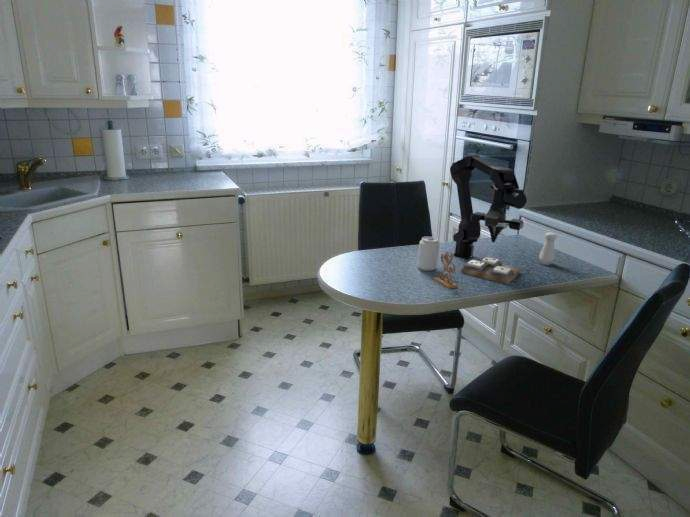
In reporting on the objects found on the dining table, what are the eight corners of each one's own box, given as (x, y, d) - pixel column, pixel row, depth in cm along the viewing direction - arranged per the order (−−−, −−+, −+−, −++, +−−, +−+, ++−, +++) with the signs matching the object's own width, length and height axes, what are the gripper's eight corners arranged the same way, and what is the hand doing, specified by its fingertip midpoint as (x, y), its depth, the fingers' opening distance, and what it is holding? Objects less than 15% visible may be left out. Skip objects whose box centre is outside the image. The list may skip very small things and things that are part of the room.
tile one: (492, 273, 189) (493, 268, 188) (496, 270, 193) (497, 265, 192) (506, 277, 186) (506, 272, 186) (510, 273, 190) (510, 268, 190)
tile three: (466, 267, 194) (467, 262, 193) (471, 263, 198) (472, 259, 197) (479, 270, 191) (480, 265, 191) (484, 267, 195) (484, 262, 195)
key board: (461, 272, 194) (462, 264, 193) (474, 262, 206) (475, 255, 205) (507, 284, 185) (509, 276, 184) (519, 273, 197) (521, 265, 196)
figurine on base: (457, 287, 179) (462, 255, 175) (448, 288, 178) (453, 256, 174) (442, 278, 187) (446, 247, 183) (433, 279, 185) (437, 248, 181)
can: (438, 267, 198) (442, 237, 194) (433, 273, 192) (437, 242, 188) (420, 263, 201) (423, 234, 197) (414, 269, 194) (417, 239, 190)
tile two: (481, 264, 198) (482, 259, 198) (485, 260, 202) (486, 256, 202) (493, 267, 196) (494, 262, 195) (497, 263, 200) (498, 259, 199)
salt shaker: (553, 266, 207) (560, 235, 203) (539, 264, 208) (545, 234, 204) (551, 262, 213) (557, 232, 208) (537, 260, 214) (542, 230, 209)
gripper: (468, 201, 189) (462, 241, 195) (518, 210, 180) (511, 252, 185) (478, 197, 198) (472, 235, 203) (527, 205, 189) (519, 245, 194)
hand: (493, 242), depth 196 cm, fingers closed
